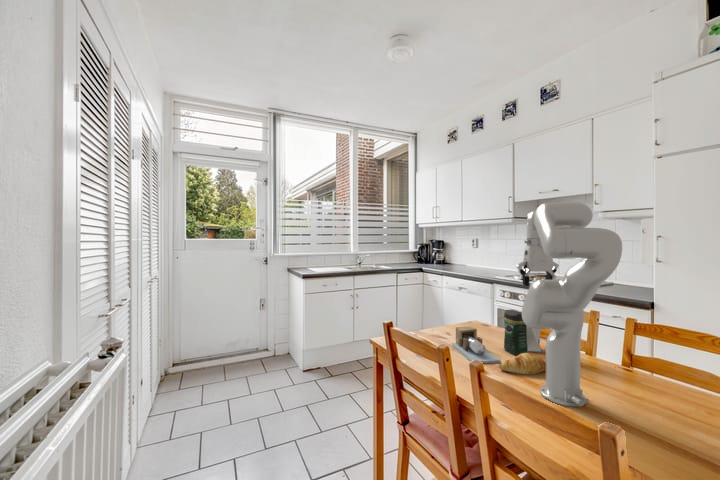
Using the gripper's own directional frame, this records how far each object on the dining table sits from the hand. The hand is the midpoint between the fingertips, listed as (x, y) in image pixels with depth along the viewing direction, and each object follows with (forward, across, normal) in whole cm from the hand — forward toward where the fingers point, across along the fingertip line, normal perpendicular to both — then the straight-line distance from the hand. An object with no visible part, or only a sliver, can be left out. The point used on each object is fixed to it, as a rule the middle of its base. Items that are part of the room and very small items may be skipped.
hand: (537, 285), depth 128 cm
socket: (+31, -19, +24) cm, 44 cm away
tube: (+31, -19, +17) cm, 40 cm away
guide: (+31, -19, +18) cm, 41 cm away
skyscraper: (+32, +9, +16) cm, 37 cm away
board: (+32, -19, +16) cm, 41 cm away
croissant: (+33, -7, -3) cm, 34 cm away
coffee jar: (+32, 0, +15) cm, 36 cm away
